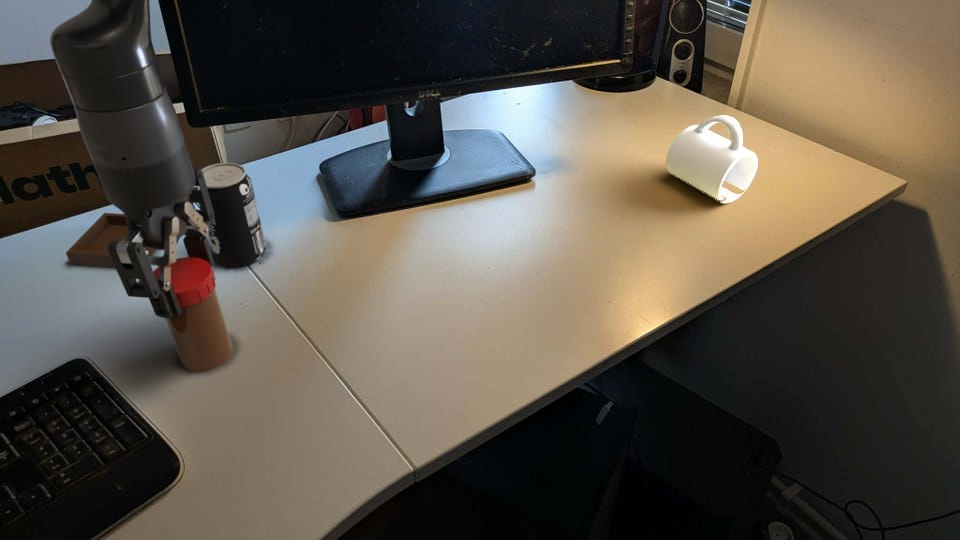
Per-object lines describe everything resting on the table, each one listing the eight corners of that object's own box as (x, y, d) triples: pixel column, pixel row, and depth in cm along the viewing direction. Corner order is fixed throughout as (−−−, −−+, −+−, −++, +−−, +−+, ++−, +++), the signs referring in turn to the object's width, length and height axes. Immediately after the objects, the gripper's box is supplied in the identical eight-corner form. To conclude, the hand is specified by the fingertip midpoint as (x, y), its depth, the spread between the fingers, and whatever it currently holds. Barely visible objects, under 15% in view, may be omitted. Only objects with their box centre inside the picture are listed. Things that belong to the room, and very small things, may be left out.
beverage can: (205, 254, 87) (181, 174, 79) (249, 233, 91) (230, 155, 83) (232, 276, 83) (209, 194, 76) (277, 253, 87) (259, 173, 80)
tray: (71, 265, 85) (65, 252, 83) (109, 224, 92) (104, 212, 91) (140, 269, 84) (135, 257, 83) (173, 228, 91) (169, 216, 90)
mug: (696, 166, 107) (714, 95, 100) (749, 194, 100) (772, 121, 93) (660, 180, 103) (675, 108, 96) (712, 210, 97) (733, 136, 89)
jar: (172, 369, 71) (142, 294, 64) (193, 334, 75) (167, 260, 68) (221, 373, 70) (196, 297, 64) (240, 338, 75) (218, 263, 68)
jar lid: (143, 306, 65) (137, 291, 64) (170, 269, 69) (165, 255, 68) (201, 310, 64) (196, 295, 63) (225, 273, 69) (220, 258, 68)
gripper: (138, 189, 51) (193, 342, 61) (212, 110, 62) (249, 250, 73) (45, 184, 52) (116, 336, 62) (136, 106, 63) (183, 246, 73)
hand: (187, 289), depth 67 cm, fingers open, 7 cm apart
